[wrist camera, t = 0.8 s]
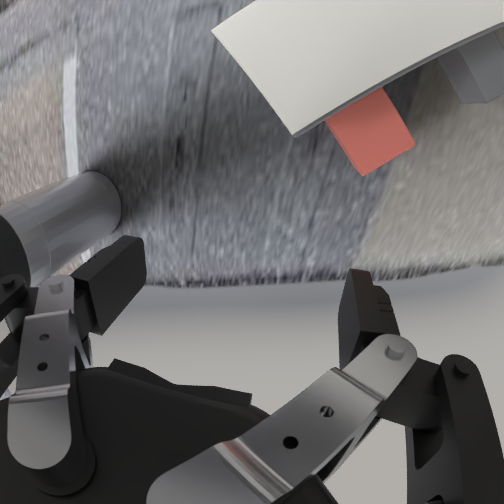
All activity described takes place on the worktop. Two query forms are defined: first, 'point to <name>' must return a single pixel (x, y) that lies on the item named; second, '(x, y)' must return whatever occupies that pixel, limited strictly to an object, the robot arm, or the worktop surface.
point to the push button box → (344, 47)
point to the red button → (370, 132)
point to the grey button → (476, 69)
